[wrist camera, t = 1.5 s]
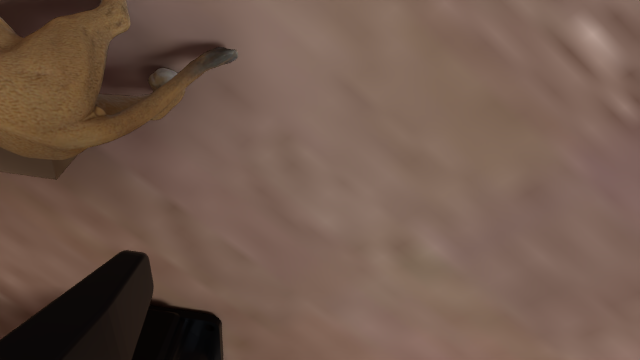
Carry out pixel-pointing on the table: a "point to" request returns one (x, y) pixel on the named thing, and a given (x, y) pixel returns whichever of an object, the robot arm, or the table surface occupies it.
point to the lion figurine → (79, 85)
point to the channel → (32, 165)
